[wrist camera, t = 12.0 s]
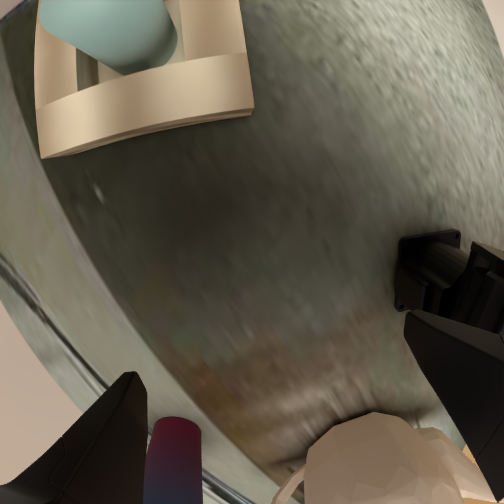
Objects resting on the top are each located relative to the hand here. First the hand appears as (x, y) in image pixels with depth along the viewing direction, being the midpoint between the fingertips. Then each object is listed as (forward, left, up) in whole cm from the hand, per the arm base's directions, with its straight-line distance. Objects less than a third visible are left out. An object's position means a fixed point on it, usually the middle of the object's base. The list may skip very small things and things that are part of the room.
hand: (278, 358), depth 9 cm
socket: (+6, -15, -13) cm, 20 cm away
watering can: (-10, +27, -13) cm, 32 cm away
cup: (+11, +20, -13) cm, 26 cm away
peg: (+6, -15, -12) cm, 20 cm away
